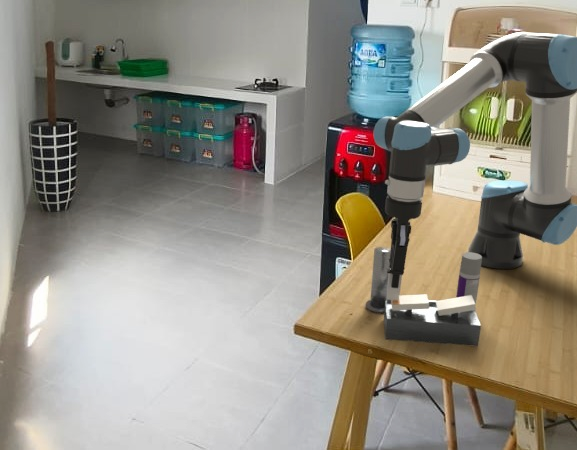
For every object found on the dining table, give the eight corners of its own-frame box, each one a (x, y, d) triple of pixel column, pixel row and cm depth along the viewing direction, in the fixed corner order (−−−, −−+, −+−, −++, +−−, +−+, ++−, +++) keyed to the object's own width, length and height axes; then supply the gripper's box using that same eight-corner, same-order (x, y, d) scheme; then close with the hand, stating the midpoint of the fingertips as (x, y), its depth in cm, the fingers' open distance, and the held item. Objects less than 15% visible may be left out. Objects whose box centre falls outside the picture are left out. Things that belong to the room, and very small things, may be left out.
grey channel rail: (470, 325, 147) (474, 301, 145) (478, 345, 139) (481, 320, 136) (383, 319, 149) (385, 295, 146) (385, 339, 140) (387, 314, 138)
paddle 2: (472, 300, 142) (471, 295, 142) (476, 309, 138) (475, 304, 138) (436, 306, 144) (435, 301, 143) (438, 315, 140) (437, 310, 139)
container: (451, 309, 155) (458, 252, 150) (470, 308, 155) (478, 251, 150) (457, 318, 150) (465, 259, 145) (477, 318, 151) (485, 259, 146)
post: (389, 303, 157) (395, 246, 152) (391, 314, 151) (396, 256, 146) (365, 301, 157) (369, 244, 152) (365, 312, 152) (370, 254, 147)
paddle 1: (426, 299, 143) (426, 293, 143) (429, 308, 139) (429, 302, 139) (391, 301, 144) (390, 295, 144) (392, 310, 140) (391, 304, 140)
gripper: (384, 186, 140) (374, 284, 148) (388, 204, 128) (376, 310, 135) (419, 189, 139) (407, 287, 147) (426, 207, 127) (412, 313, 135)
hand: (392, 298), depth 141 cm, fingers closed
